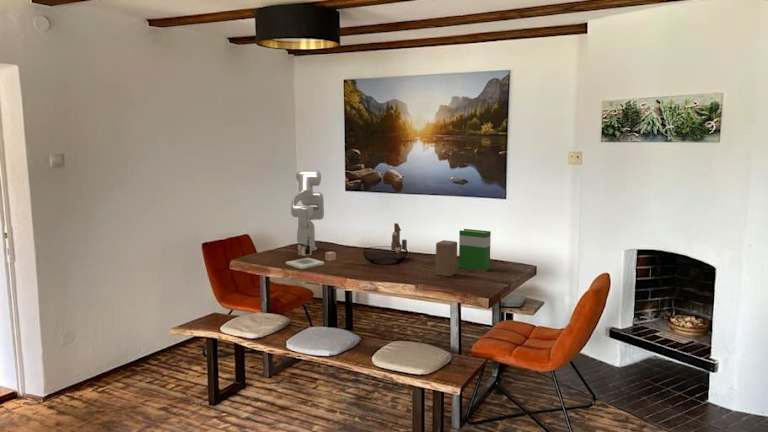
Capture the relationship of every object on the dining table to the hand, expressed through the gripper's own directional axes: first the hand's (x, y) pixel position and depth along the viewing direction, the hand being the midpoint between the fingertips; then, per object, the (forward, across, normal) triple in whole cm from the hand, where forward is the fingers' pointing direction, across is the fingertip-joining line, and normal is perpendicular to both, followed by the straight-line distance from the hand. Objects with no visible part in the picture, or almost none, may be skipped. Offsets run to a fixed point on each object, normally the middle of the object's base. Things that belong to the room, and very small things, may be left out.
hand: (304, 253), depth 365 cm
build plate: (+7, 0, 0) cm, 7 cm away
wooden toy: (+8, +33, +53) cm, 63 cm away
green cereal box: (+8, +83, +71) cm, 109 cm away
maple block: (+1, 0, 0) cm, 1 cm away
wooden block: (+8, +81, +47) cm, 94 cm away
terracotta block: (+7, +1, +20) cm, 21 cm away
